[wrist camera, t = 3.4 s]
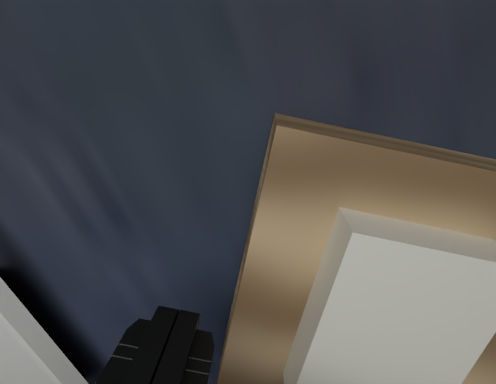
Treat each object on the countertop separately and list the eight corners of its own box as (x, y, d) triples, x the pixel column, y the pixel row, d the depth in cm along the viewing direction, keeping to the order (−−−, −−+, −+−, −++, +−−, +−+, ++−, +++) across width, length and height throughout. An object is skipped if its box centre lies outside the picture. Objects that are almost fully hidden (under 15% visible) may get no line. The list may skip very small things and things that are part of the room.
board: (275, 112, 14) (276, 125, 10) (562, 173, 14) (665, 207, 10) (225, 332, 19) (215, 393, 15) (437, 375, 19) (477, 447, 16)
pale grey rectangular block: (338, 207, 11) (352, 232, 9) (492, 239, 11) (536, 270, 10) (283, 371, 15) (285, 414, 13) (402, 396, 15) (422, 442, 13)
